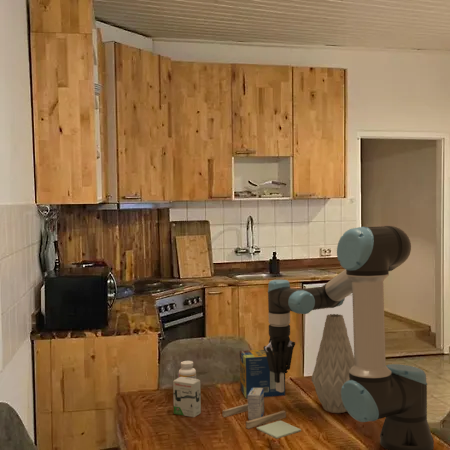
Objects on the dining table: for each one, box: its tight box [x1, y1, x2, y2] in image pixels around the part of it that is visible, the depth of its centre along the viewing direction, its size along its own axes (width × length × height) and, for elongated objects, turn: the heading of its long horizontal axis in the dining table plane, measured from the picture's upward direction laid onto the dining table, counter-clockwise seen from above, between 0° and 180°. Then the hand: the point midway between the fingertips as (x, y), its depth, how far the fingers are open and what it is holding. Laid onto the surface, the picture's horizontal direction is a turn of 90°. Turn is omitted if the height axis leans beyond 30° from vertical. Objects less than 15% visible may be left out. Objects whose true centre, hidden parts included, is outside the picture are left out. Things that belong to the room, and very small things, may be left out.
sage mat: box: [256, 419, 302, 440], centre depth 185 cm, size 10×10×1 cm
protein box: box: [239, 348, 286, 400], centre depth 222 cm, size 10×15×16 cm
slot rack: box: [221, 403, 287, 430], centre depth 197 cm, size 14×16×2 cm
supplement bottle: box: [178, 360, 197, 379], centre depth 221 cm, size 7×7×13 cm
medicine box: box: [247, 388, 265, 421], centre depth 198 cm, size 8×4×9 cm, turn 168°
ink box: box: [172, 376, 202, 418], centre depth 202 cm, size 9×5×12 cm, turn 62°
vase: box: [311, 313, 354, 414], centre depth 202 cm, size 17×17×33 cm
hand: (280, 390), depth 204 cm, fingers closed
